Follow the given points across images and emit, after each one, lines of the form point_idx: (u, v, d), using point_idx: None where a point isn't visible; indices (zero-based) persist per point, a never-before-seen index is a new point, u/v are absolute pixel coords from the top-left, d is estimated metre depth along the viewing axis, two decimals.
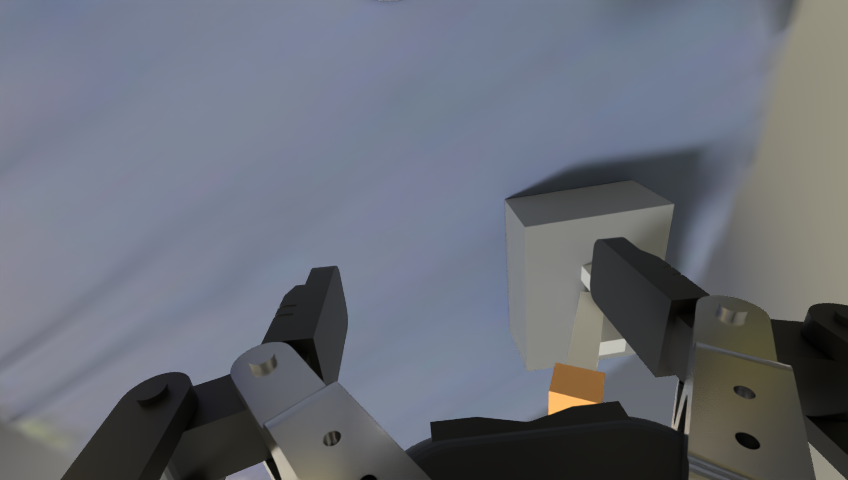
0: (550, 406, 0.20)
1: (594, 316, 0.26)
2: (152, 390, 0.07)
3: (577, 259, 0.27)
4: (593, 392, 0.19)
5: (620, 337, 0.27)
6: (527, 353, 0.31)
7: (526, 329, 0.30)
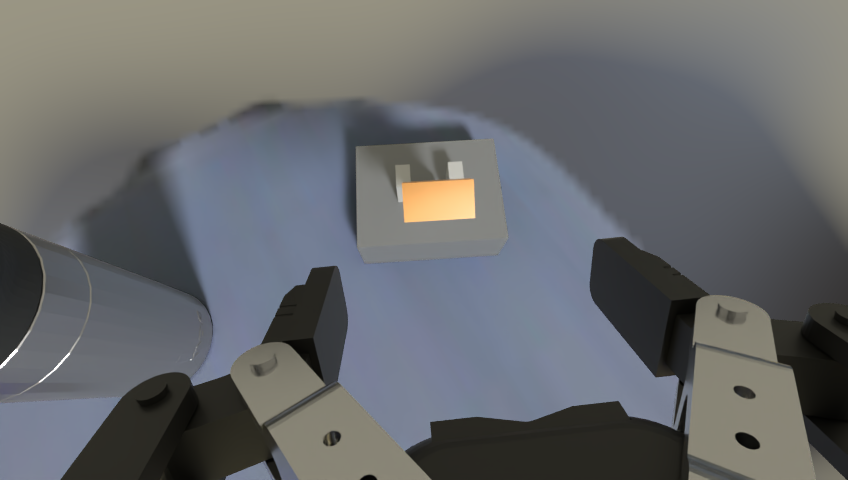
0: (421, 220, 0.24)
1: None
2: (152, 390, 0.07)
3: (391, 206, 0.35)
4: None
5: (448, 166, 0.33)
6: (486, 238, 0.34)
7: (458, 240, 0.34)
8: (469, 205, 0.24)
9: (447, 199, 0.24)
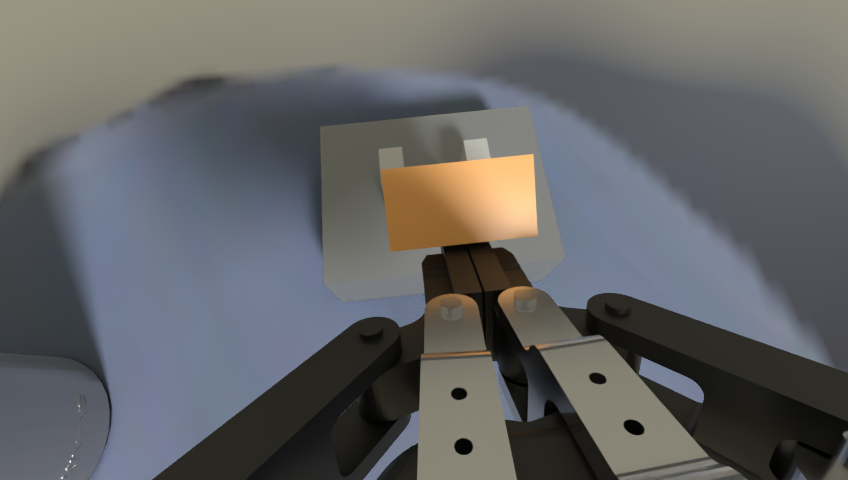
0: (426, 245, 0.12)
1: None
2: (371, 329, 0.08)
3: (377, 215, 0.22)
4: None
5: (464, 147, 0.20)
6: (530, 260, 0.21)
7: None
8: (525, 211, 0.12)
9: (478, 200, 0.12)
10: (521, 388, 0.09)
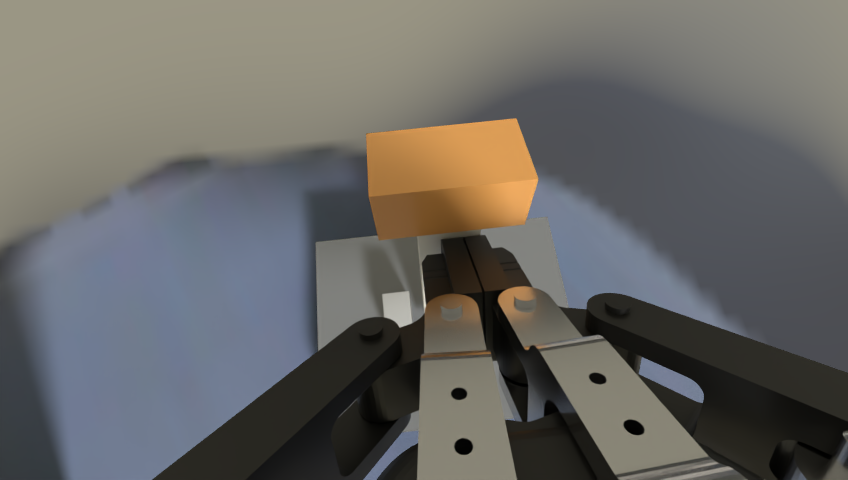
0: (409, 189, 0.10)
1: (421, 283, 0.18)
2: (371, 329, 0.08)
3: None
4: None
5: None
6: None
7: None
8: (519, 159, 0.11)
9: (465, 151, 0.11)
10: (521, 388, 0.09)
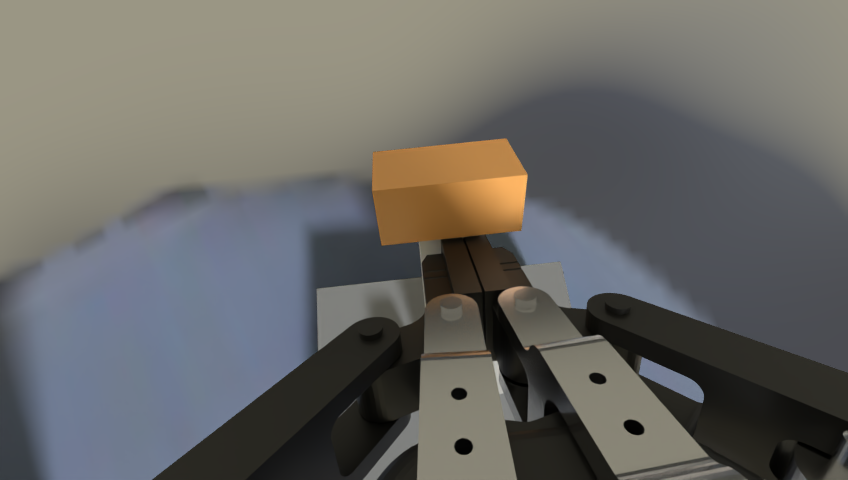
0: (409, 185, 0.11)
1: None
2: (371, 329, 0.08)
3: None
4: None
5: None
6: None
7: None
8: (509, 162, 0.12)
9: (460, 160, 0.12)
10: (521, 388, 0.09)
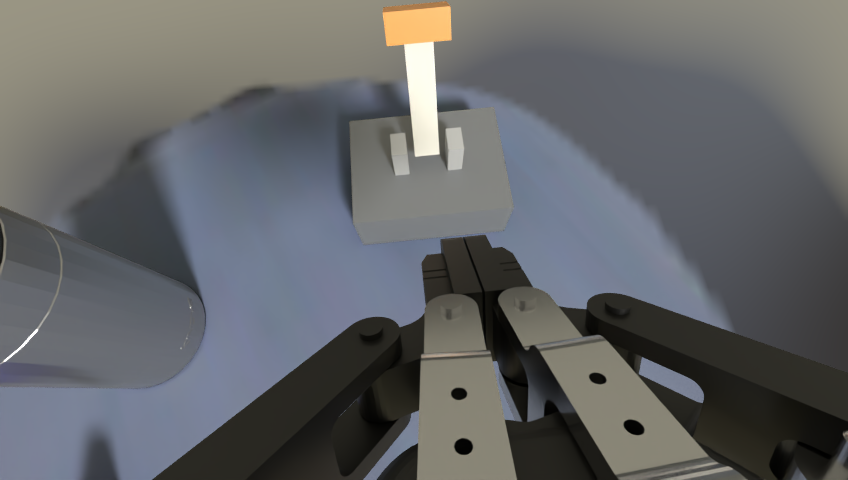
0: (399, 10, 0.26)
1: (411, 120, 0.32)
2: (371, 330, 0.08)
3: (388, 180, 0.33)
4: None
5: (446, 133, 0.31)
6: (490, 209, 0.32)
7: (460, 212, 0.32)
8: (444, 5, 0.26)
9: (423, 5, 0.27)
10: (521, 388, 0.09)
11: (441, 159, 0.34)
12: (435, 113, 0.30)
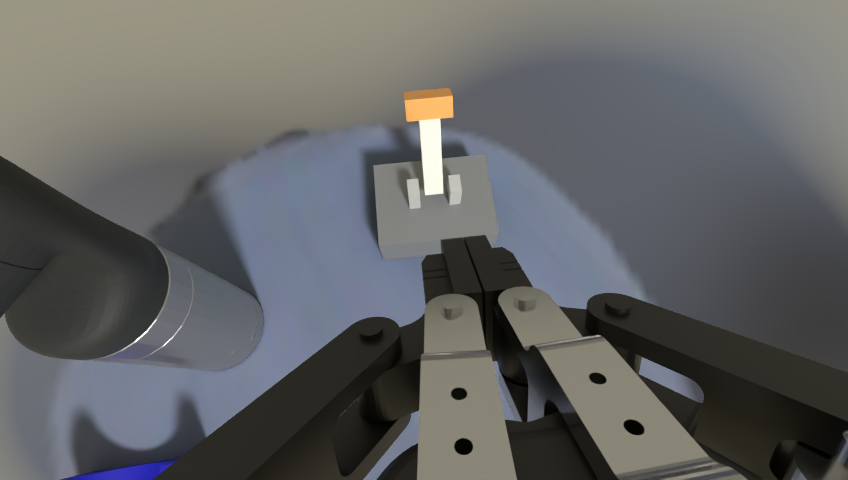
0: (416, 98, 0.36)
1: None
2: (371, 329, 0.08)
3: (404, 212, 0.44)
4: None
5: (448, 179, 0.42)
6: None
7: None
8: (448, 93, 0.37)
9: (433, 93, 0.37)
10: (521, 388, 0.09)
11: (444, 196, 0.44)
12: (440, 165, 0.41)
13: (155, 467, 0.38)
